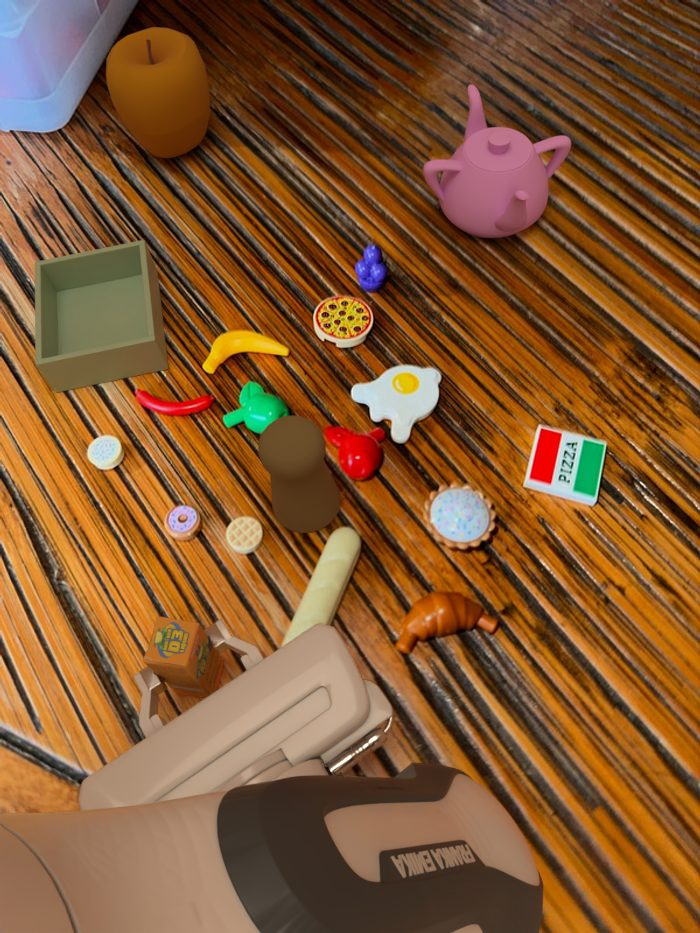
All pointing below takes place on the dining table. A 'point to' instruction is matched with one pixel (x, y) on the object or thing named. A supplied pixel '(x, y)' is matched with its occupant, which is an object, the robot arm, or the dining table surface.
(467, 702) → the dining table surface
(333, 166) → the dining table surface
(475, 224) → the teapot
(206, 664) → the supplement box
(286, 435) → the cork
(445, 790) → the robot arm
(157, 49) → the apple
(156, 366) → the bin
